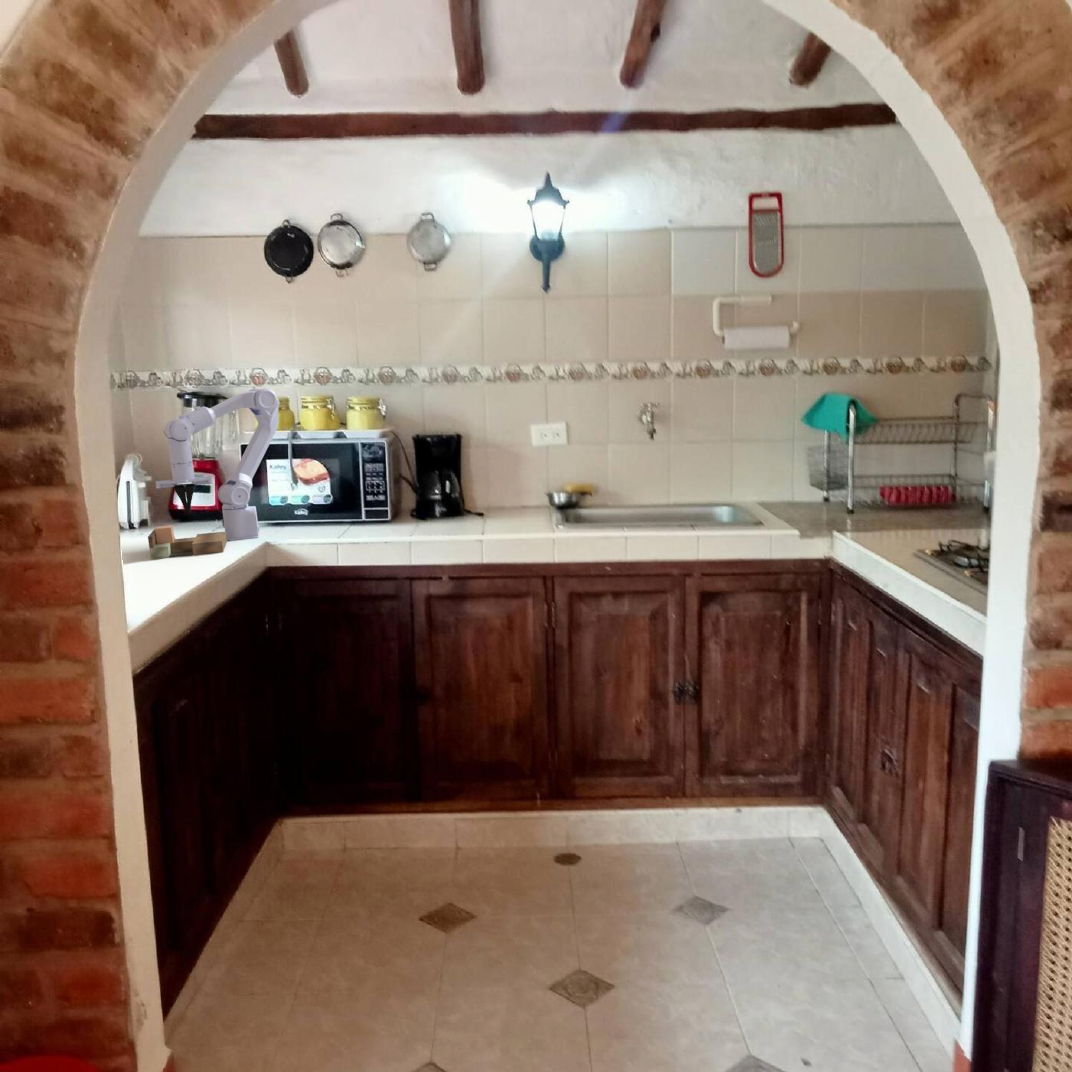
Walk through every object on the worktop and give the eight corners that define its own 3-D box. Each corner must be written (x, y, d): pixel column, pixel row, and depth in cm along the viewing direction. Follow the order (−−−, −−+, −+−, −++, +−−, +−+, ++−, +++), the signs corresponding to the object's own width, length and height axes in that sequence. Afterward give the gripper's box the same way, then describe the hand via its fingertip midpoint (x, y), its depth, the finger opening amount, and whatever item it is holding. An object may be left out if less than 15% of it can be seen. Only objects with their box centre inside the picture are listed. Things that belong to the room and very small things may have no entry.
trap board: (226, 541, 264) (224, 520, 263) (223, 552, 249) (220, 529, 248) (158, 548, 260) (155, 527, 259) (150, 559, 245) (147, 536, 244)
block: (174, 539, 255) (172, 525, 254) (172, 542, 251) (170, 527, 251) (158, 541, 254) (156, 526, 253) (156, 543, 250) (154, 529, 250)
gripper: (152, 466, 253) (158, 516, 256) (208, 462, 257) (214, 511, 260) (154, 464, 260) (161, 512, 262) (210, 460, 264) (215, 507, 266)
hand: (188, 511), depth 261 cm, fingers closed
